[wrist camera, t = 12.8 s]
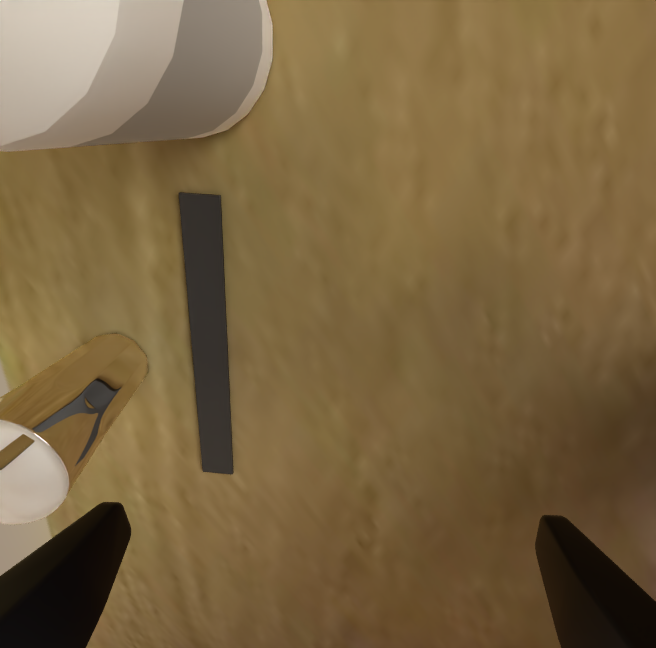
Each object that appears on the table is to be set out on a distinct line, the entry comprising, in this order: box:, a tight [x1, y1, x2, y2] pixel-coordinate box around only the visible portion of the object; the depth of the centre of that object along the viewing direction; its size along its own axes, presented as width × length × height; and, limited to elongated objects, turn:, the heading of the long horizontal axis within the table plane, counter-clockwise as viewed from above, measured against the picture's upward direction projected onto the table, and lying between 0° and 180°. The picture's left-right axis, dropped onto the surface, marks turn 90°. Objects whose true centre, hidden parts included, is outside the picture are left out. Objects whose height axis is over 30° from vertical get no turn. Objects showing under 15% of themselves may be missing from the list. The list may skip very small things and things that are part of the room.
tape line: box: [179, 192, 233, 474], centre depth 22 cm, size 16×2×1 cm, turn 177°
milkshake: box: [0, 333, 148, 525], centre depth 18 cm, size 4×5×10 cm
